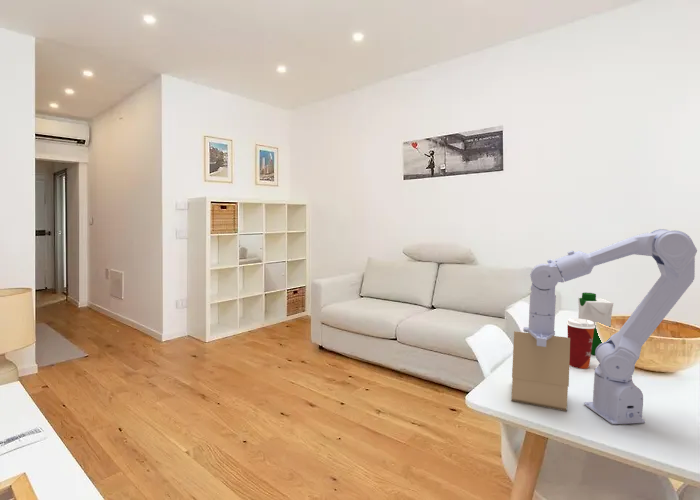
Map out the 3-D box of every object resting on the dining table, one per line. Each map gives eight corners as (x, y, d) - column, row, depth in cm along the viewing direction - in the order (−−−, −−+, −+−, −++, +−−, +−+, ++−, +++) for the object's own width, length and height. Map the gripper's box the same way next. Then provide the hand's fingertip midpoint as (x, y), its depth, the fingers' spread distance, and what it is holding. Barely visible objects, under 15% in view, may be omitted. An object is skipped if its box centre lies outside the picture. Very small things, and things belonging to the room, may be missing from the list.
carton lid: (514, 331, 97) (514, 331, 97) (569, 337, 92) (570, 338, 92) (512, 377, 96) (511, 377, 96) (568, 386, 91) (568, 386, 90)
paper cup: (597, 371, 116) (600, 325, 114) (569, 369, 117) (571, 323, 116) (587, 361, 123) (589, 318, 122) (560, 359, 125) (562, 316, 124)
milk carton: (573, 346, 137) (576, 290, 136) (600, 348, 136) (604, 291, 134) (583, 355, 129) (587, 296, 127) (613, 357, 127) (617, 297, 125)
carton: (513, 383, 107) (514, 362, 106) (563, 392, 102) (564, 369, 101) (511, 400, 97) (512, 377, 96) (566, 411, 92) (567, 386, 91)
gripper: (524, 305, 104) (522, 354, 105) (523, 317, 91) (521, 373, 92) (554, 307, 101) (551, 358, 102) (557, 321, 88) (554, 379, 89)
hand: (539, 366), depth 97 cm, fingers closed
